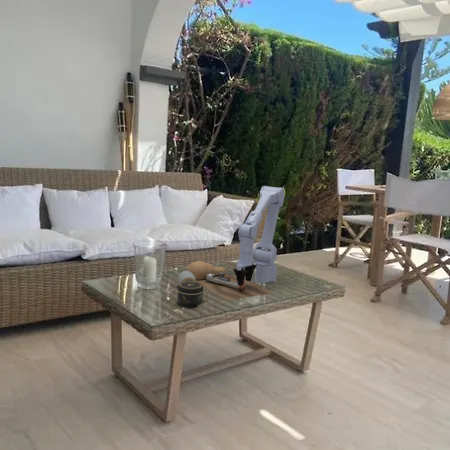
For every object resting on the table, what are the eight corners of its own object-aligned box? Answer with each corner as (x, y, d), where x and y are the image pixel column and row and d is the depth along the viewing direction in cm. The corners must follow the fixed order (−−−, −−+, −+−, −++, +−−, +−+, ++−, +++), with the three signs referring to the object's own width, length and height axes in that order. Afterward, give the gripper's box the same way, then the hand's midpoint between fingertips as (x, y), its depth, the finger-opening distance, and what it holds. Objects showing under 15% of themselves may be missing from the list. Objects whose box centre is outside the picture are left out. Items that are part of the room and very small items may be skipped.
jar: (172, 305, 189) (173, 286, 188) (183, 297, 199) (184, 279, 197) (196, 309, 186) (197, 290, 185) (206, 301, 195) (207, 283, 194)
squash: (181, 279, 224) (182, 259, 225) (214, 278, 238) (215, 260, 238) (195, 281, 216) (196, 261, 217) (229, 280, 230) (230, 261, 230)
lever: (204, 280, 218) (205, 273, 217) (211, 278, 222) (211, 271, 221) (241, 290, 207) (242, 283, 206) (248, 288, 210) (248, 281, 210)
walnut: (228, 279, 223) (228, 272, 223) (231, 281, 221) (232, 274, 220) (222, 280, 222) (222, 273, 221) (225, 282, 219) (226, 275, 218)
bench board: (238, 277, 231) (238, 269, 231) (274, 295, 208) (275, 286, 207) (193, 283, 219) (193, 274, 218) (226, 302, 195) (227, 293, 195)
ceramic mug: (179, 293, 203) (180, 276, 202) (176, 287, 211) (177, 270, 210) (204, 293, 206) (206, 275, 205) (200, 287, 214) (201, 270, 212)
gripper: (244, 247, 216) (242, 277, 219) (230, 253, 203) (228, 285, 206) (259, 250, 213) (257, 280, 216) (246, 256, 200) (244, 288, 203)
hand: (244, 283), depth 211 cm, fingers open, 7 cm apart
